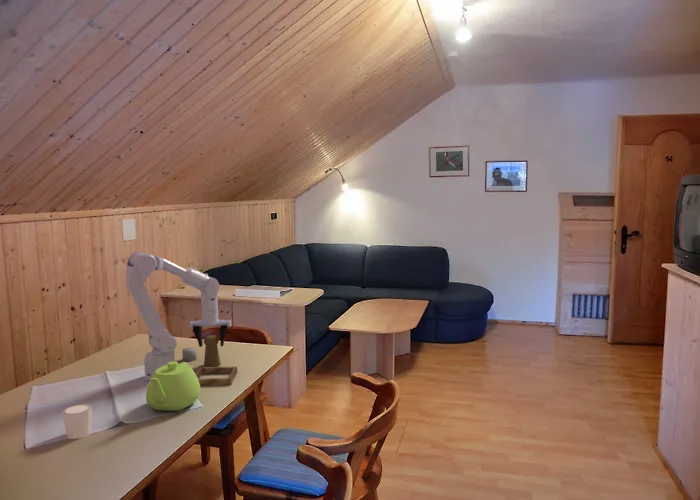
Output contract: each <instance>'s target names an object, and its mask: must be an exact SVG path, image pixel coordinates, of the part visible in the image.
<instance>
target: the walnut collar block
mask: <svg viewBox="0 0 700 500" xmlns="http://www.w3.org/2000/svg"><path fill="white" fill-rule="evenodd" d="M237 373H238V366H218V367H204V366H203V367H199V368H198V369H197V371H196V372H195V374H196V376H197V378H198V380H199V384H200V387H201V386H203V387H204V386H229V385H230V386H231V385H232V384H233V383H234V380H235V378H236V375H237ZM211 374H216V375H217V374H229V376H228V377H217V378H216V377H215V378H214V377H213V378H212V377H211V378H209V377H208V378H201V377H202V375H211Z"/></svg>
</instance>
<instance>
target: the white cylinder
mask: <svg viewBox="0 0 700 500" xmlns="http://www.w3.org/2000/svg"><path fill="white" fill-rule="evenodd" d="M92 408H93V406H92V405H90V404H88V403H80V404H75V405H72V406H68V407H66V408H65V409H63V411H62V416H63V422H64V426H65V431H66V432H65V433H66V437H67V438H68V439H69V440H78V439H83V438H85V437H87V436H89V435H90V434H91V433H92V414H93V413H92V410H93V409H92Z"/></svg>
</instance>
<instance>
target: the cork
mask: <svg viewBox="0 0 700 500" xmlns="http://www.w3.org/2000/svg"><path fill="white" fill-rule="evenodd" d="M219 339H220V338H219V337H218V336H217V335H215V334H214V335H210V334H209V335H207V336H205V337H204V339H203V343H204V346H205V351H204V361H203V367H221V365H222V363H221V359H220V352H219V348H218V344H219Z"/></svg>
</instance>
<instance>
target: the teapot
mask: <svg viewBox="0 0 700 500" xmlns="http://www.w3.org/2000/svg"><path fill="white" fill-rule="evenodd" d="M148 382H149V383H148V384H147V388H146V395H145V401H146V403H147V404H148V405H149V406H150V408H152V409H153V410H156V411H166V412H169V411H175V412H182V411H183V410H184V409H185V408H187V407H189V406H191V405H192V404H194V403H195V402H196V401H197V400H198V398H199V396H200V394H201V386H200V384H199V380H198V378H197V376H196V372H195V371H194V369H193V368H192V367H191V365H190V364H189V362H184V361H182V362H180V363H179V362H178V361H176V360H175V361H172V362H168V363H167V365H164V366H162V367H160V368H158V369H157V370H156V371H155V372H154V374H153V376H152V378H151V379H150V381H148Z"/></svg>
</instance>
